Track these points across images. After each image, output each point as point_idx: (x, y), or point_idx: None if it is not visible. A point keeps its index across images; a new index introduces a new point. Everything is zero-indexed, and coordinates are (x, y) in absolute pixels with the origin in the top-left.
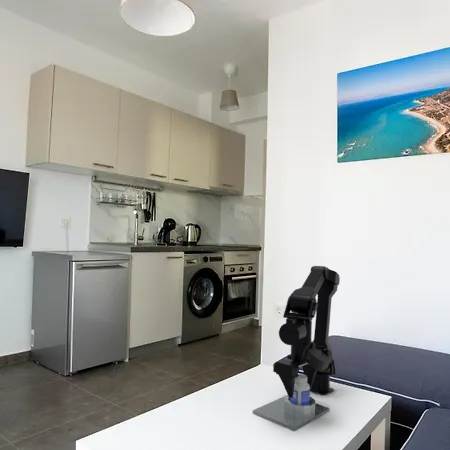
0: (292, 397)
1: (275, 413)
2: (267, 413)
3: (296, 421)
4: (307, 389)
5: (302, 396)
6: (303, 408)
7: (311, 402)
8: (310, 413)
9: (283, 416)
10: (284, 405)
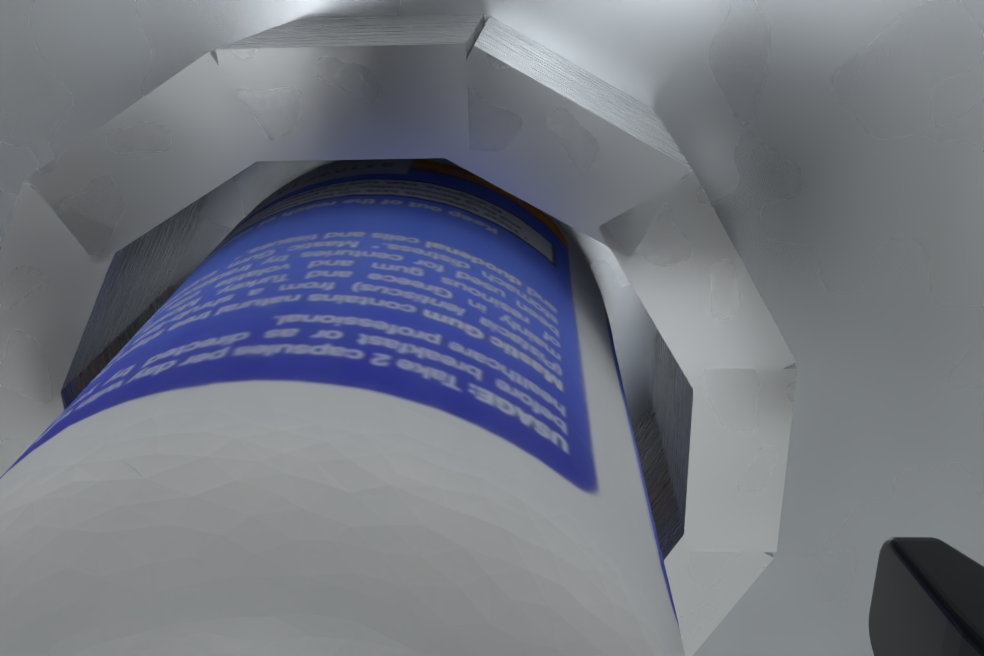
0: (891, 538)
1: None
2: None
3: (945, 89)
4: (318, 408)
5: (559, 376)
6: (671, 151)
7: (259, 159)
8: (478, 27)
9: (901, 401)
10: None
